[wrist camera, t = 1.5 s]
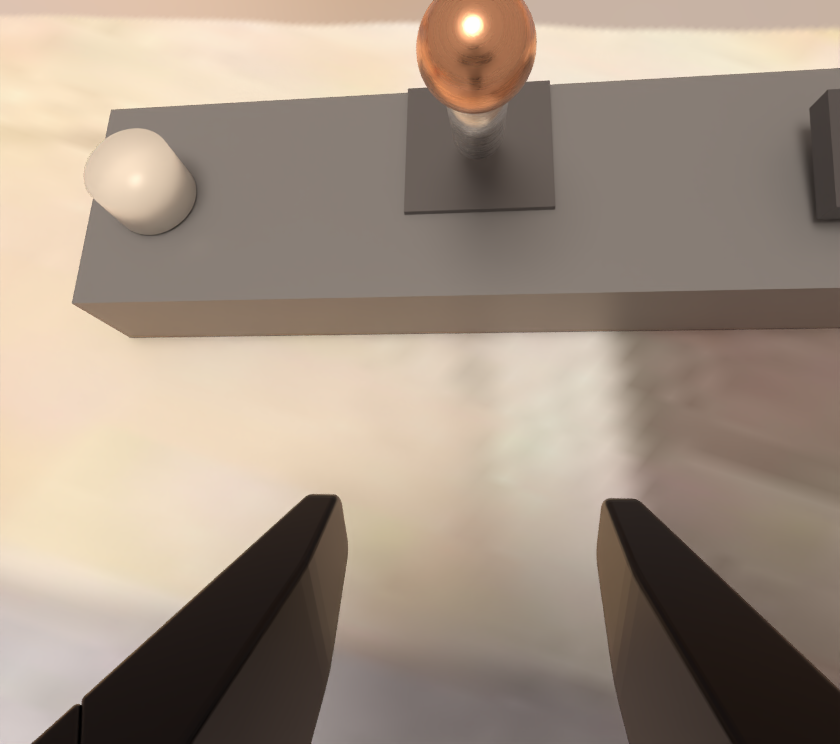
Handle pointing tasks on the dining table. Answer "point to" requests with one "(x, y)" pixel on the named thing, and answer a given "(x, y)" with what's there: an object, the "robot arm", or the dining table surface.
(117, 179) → the push button
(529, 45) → the toggle lever
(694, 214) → the switch panel
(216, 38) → the dining table surface
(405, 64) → the dining table surface
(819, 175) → the rocker
